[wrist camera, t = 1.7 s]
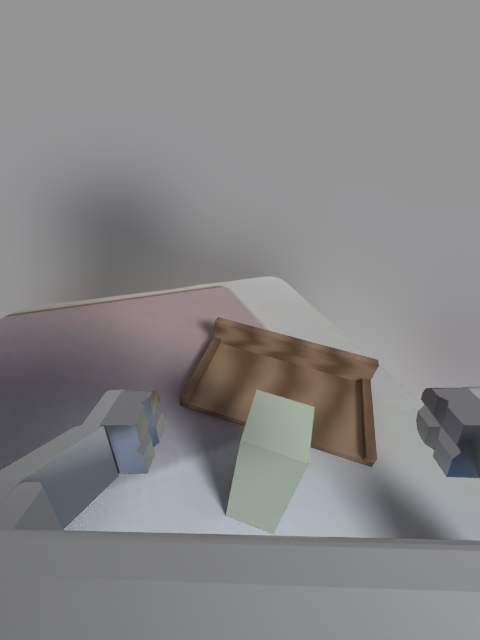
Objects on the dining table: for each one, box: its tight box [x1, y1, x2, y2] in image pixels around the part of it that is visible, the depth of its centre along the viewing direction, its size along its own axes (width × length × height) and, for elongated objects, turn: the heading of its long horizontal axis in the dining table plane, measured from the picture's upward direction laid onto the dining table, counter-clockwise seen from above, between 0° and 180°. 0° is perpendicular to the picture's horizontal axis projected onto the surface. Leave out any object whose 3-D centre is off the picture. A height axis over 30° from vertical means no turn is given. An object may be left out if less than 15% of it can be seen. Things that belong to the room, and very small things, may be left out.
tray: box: [180, 317, 379, 466], centre depth 42 cm, size 25×14×5 cm, turn 73°
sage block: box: [226, 390, 315, 534], centre depth 27 cm, size 5×5×14 cm
